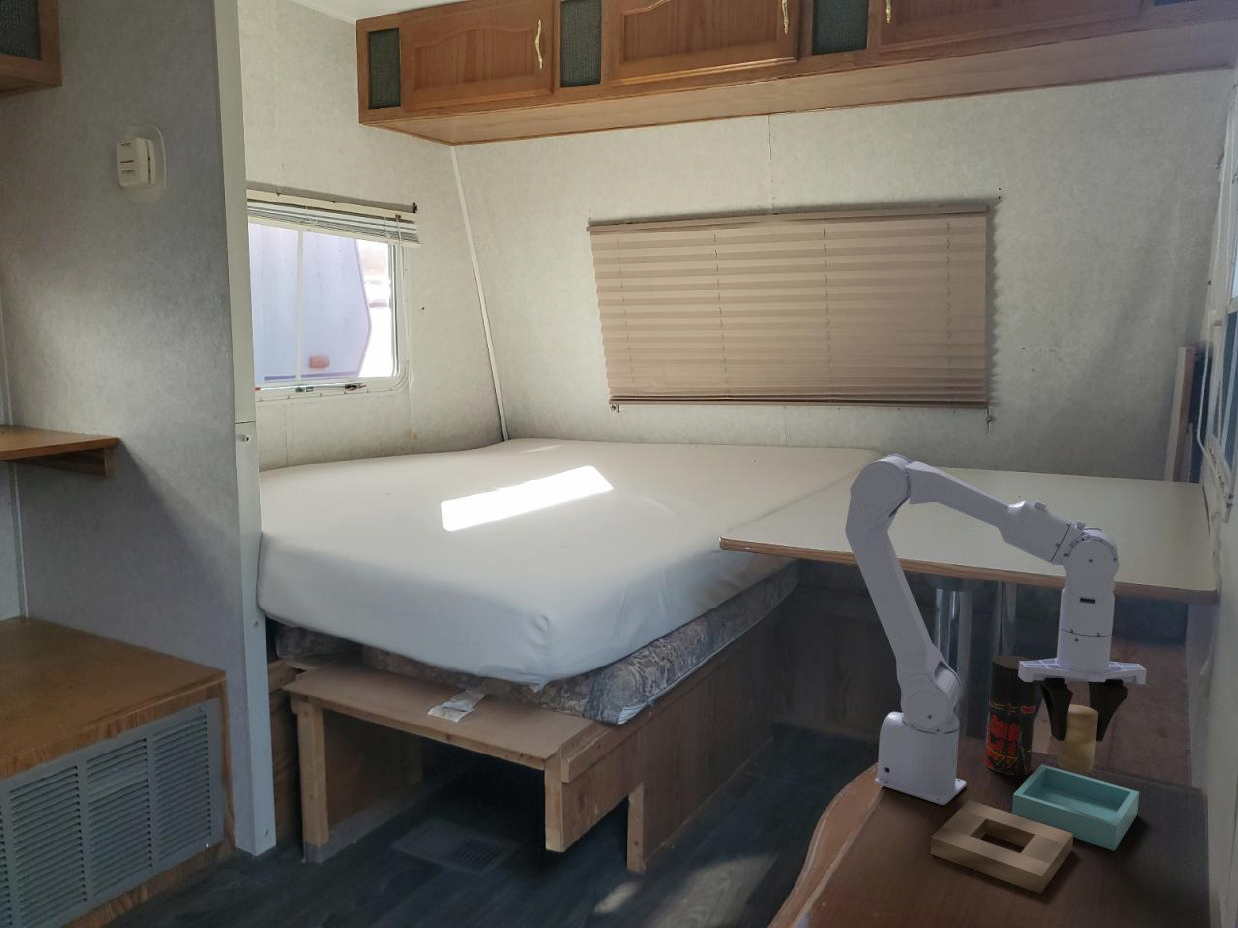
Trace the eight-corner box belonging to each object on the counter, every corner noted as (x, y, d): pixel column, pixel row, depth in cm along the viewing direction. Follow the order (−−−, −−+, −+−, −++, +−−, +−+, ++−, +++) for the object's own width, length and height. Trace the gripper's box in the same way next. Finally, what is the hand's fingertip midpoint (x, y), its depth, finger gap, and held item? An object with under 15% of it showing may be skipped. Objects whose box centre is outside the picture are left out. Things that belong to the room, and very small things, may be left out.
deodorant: (978, 756, 134) (985, 654, 132) (1020, 757, 134) (1028, 655, 132) (993, 774, 128) (1001, 668, 126) (1037, 776, 128) (1046, 669, 126)
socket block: (930, 853, 107) (931, 836, 107) (968, 815, 116) (969, 800, 116) (1040, 893, 100) (1042, 876, 99) (1071, 849, 109) (1073, 833, 109)
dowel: (1064, 771, 113) (1069, 715, 112) (1052, 757, 117) (1056, 703, 116) (1098, 773, 113) (1103, 717, 112) (1085, 759, 117) (1090, 705, 116)
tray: (1011, 817, 116) (1013, 794, 116) (1039, 785, 125) (1041, 763, 125) (1114, 850, 109) (1116, 826, 108) (1137, 814, 118) (1139, 791, 117)
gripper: (1039, 638, 109) (1030, 750, 111) (1164, 641, 109) (1154, 752, 111) (1014, 621, 116) (1007, 726, 118) (1132, 623, 116) (1123, 729, 118)
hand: (1076, 737), depth 115 cm, fingers closed on dowel, 4 cm apart
